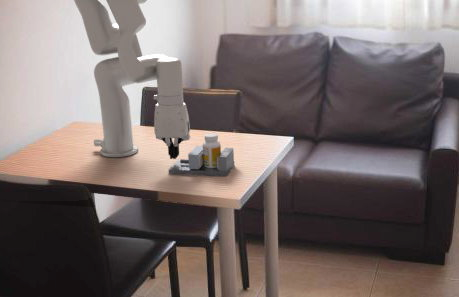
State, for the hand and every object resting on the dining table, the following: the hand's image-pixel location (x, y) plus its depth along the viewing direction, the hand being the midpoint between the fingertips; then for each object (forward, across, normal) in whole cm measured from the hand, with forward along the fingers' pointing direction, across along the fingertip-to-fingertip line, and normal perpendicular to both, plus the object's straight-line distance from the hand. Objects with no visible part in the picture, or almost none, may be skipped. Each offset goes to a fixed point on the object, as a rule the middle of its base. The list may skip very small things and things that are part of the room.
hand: (174, 157), depth 210 cm
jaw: (+2, +6, 0) cm, 6 cm away
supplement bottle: (+2, +12, 0) cm, 12 cm away
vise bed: (+4, +9, 0) cm, 10 cm away
